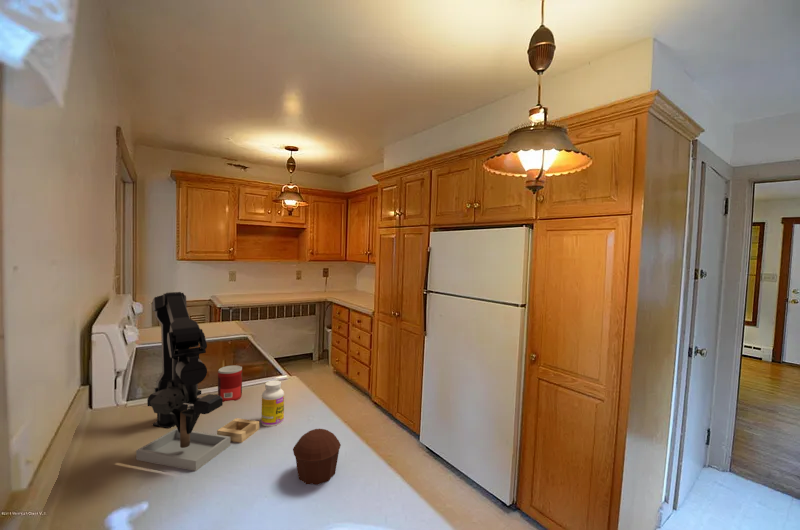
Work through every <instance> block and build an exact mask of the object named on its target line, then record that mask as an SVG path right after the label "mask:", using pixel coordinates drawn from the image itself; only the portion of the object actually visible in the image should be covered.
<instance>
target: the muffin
mask: <svg viewBox="0 0 800 530" xmlns="http://www.w3.org/2000/svg"><path fill="white" fill-rule="evenodd" d="M341 446H342V445H341V442H340V441H339V438H337V436H336V435H335V434H334V433H333V432H331V431H329V430H328V429H324V428H315V429H311V430H309V431H307V432H306V433H304V434H303V435H302V436H301V437H300V438H299V439H298V440H297V442H296V443H295V445H294V446H293V448H292V451H293V456H294V457H295V462H296V471H297V476H298V480H299V481H301V482H303V483H304V484H305V485H316V486H319V485H321V484H323V483H326V482H329V481H330V480H331V479H332V478H333V477H334V476H335V474H336V470H337V463H338V461H339V459H338V458H339V453H340V449H341Z"/></svg>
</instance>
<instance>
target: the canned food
mask: <svg viewBox="0 0 800 530" xmlns="http://www.w3.org/2000/svg"><path fill="white" fill-rule="evenodd" d="M217 395H220V396H221V397H222V399H223V403H225V402H229V401H238V400H240V399H241V398H242V395H243V366H240V365H226V366H222V367H220V368H219V369H218V370H217Z"/></svg>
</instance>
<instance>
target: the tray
mask: <svg viewBox="0 0 800 530" xmlns="http://www.w3.org/2000/svg"><path fill="white" fill-rule="evenodd" d="M229 447H231V441H230V437H229V436H222V435H217V433H216V434H214V433H208V432H204V431H203V432H202V431H197V430H192V432H191V433H190V445H189V446H188V447H185V448H181V447H180V433H179V431H178V429H177V427H175V428H174V429H172V430H170V431H168V432H167V433H165V434H163V435H161V436H160V437H158V438H156V439H154V440H152V441H150V442H149V443H147V444H145V445H143V446H141V447H140V448H138V449H136V451H135V452H136V453H135V456H136V458H135V459H136V461H141V462H146V463H151V464H158V465H162V466H166V467H167V466H168V467H171V468H178V469H184V470H187V471H193V472H197V471H198V470H200V469H201V468H202V467H203V466H205V465H206V464H208V463H209V462H211V461H212V460H213V459H214V458H216V457H218V455H220V454H221V453H222V452H224V451H225V450H226V449H228V448H229Z"/></svg>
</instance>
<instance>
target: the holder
mask: <svg viewBox="0 0 800 530" xmlns="http://www.w3.org/2000/svg"><path fill="white" fill-rule="evenodd" d="M259 430H260V421H258V420H254V419H253V420H252V419H246V418H240V417H235V418H234V419H233V420H231V421H229V422H228V423H226V424H225V425H223V426H222V427H220V428H219V429H217V431H216V435H222V436H229V437H230V442H234V443H239V444H242V443H243V442H245V441H247V440H248V439H249V438H250V437H251V436H253V435H254V434H256V432H258V431H259Z"/></svg>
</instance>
